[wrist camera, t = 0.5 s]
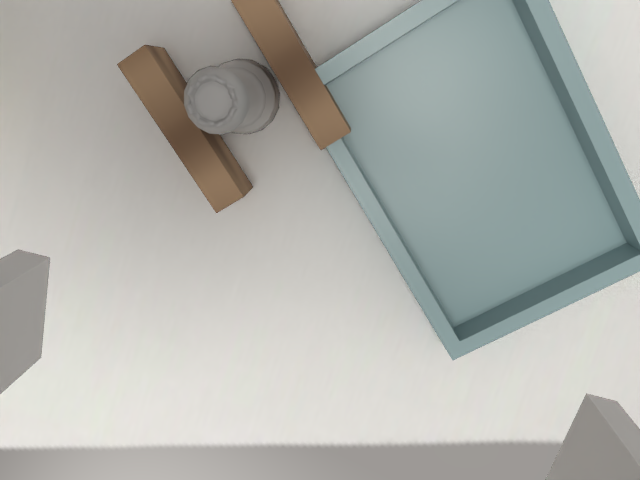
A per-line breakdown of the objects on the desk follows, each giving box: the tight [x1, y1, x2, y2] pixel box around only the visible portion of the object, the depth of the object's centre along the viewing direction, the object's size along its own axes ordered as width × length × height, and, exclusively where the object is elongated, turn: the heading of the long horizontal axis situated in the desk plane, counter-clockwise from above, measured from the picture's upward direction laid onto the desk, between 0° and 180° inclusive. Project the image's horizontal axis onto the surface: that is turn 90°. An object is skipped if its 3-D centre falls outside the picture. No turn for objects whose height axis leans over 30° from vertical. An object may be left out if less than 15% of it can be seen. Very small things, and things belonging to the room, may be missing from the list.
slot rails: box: [117, 0, 351, 213], centre depth 31 cm, size 10×9×3 cm
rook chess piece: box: [184, 59, 279, 135], centre depth 29 cm, size 4×4×8 cm
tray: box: [315, 0, 640, 360], centre depth 31 cm, size 20×14×3 cm
